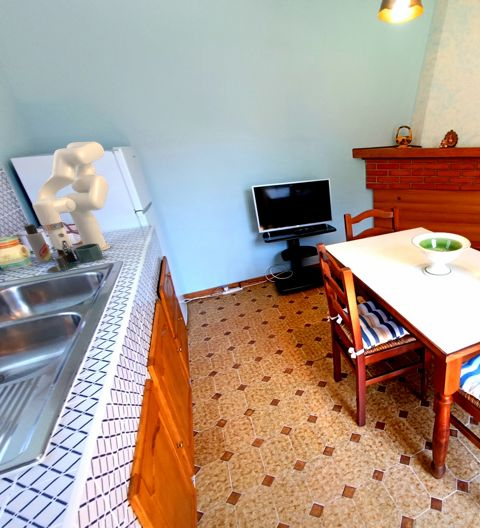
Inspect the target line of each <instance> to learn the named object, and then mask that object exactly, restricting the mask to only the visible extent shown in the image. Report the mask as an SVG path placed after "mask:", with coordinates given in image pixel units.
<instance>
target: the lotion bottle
mask: <svg viewBox="0 0 480 528" xmlns="http://www.w3.org/2000/svg"><path fill="white" fill-rule="evenodd" d="M23 228H24V229H25V230H24V231H25V232H26V235H25V238H26V240H27V242H28V245H29V246H30V248H31V251H32V252H33V254H34V256H35V258H36V260H37V262H38V264H47V263H51V262H53V261H54V260H55V258H54V257H53V255H52V253H51V250H50V248H49V246H48V244H47V242H46V240H45V237H44V235H43V234H42V232H39V231H38V229H37V226H36V225H35V224H34V223H28V224H25V225H24V226H23Z"/></svg>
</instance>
